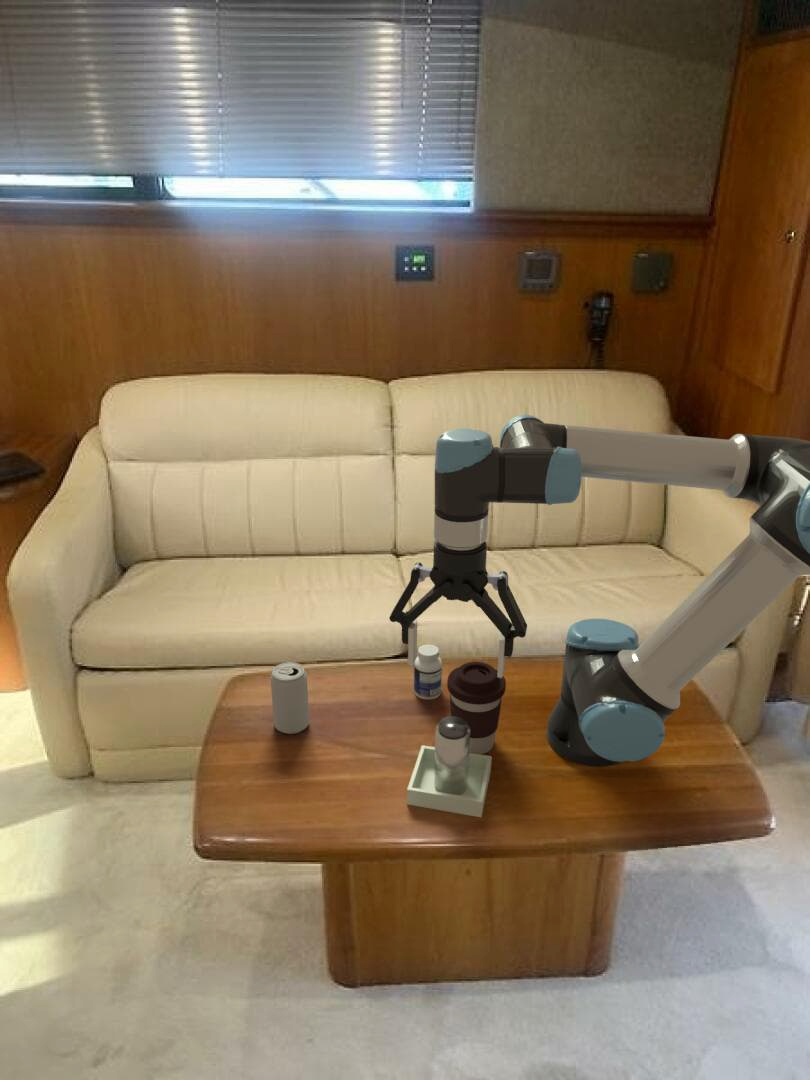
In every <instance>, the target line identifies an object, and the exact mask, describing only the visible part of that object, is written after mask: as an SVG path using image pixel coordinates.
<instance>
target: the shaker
mask: <svg viewBox="0 0 810 1080" xmlns="http://www.w3.org/2000/svg"><path fill="white" fill-rule="evenodd" d="M434 740H435V741H434V743H435V744H434V747H435V768H434V787H435V789H436V790H437V791H438V792H441V793H447V794H453V795H461V794H463V793H464V792H465V791H466V789H467V786H468V767H469V748H470V728H469V726H468V724H467V722H466V721H465V720H464V719H462V718H460V717H456V716H451V715H450V716H446V717H443V718H441V719H440V720H439V722H438V724H437V725H436V727H435V739H434Z"/></svg>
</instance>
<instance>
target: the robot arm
mask: <svg viewBox="0 0 810 1080" xmlns="http://www.w3.org/2000/svg"><path fill="white" fill-rule="evenodd" d="M499 437H500V441H499V447H498V446H494V445H493V440H492V436H491V435H490V434H489V433H487V432H486V431H484V430H478V429H471V428H456V429H451V430H447V431H445V432H443V433H442V434H440V436H439V437H438V438H437V440H436V444H435V445H436V447H435V459H434V460H435V461H434V510H433V512H434V513H433V537H434V541H433V559H432V561H433V563H432V564H433V565H432V567H426V566H424V565H423V564H422V563H421V562H419V561H418V562H416V563H415V564H414V565H413V568H411V572H410V578H409V579H410V580H409V582H408V584H407V585H406V587H405V589H404V591H403V592H402V594H401V596H400V597H399V599H398V601H397V602H396V603H395V606H394V607H393V609H392V611H391V613H390V615H389V621H390V622H392V623H398V624H399V625H401V642H402V644H405V645H408V647H407V652H408V653H407V658H408V659H407V660H408V661H407V664H408V666H410V667H414V662H415V660H416V658H417V657H418V620H417V619H418V618H419V617H420V616H421V615H422V614H423V613H424V612H426V610H428V609H429V608H430V607H431V606H433V604H434V603H436V602H437V601H439V600H440V598H441V597H443V598H445V599H446V601H455V600H456V601H460V602H462V603H464V602H465V603H469V601H472V603H474V604H475V606H476V607H478V608H479V609H481V611H482V612H483V613H484V614H485V616H487V618H488V619H489V620H490V621H491V623H492V624H493V625H494V627H495V628H496V629H497V630H498V631H499V632H500V636H499V641H498V643H499V644H498V655H497V656H498V659H497V661H498V662H497V671H498V673H497V677H499V678H502V677H503V676H504V673H505V672H504V671H505V666H506V665H505V662H506V657H508V658H511V657H512V656H513V652H514V643H515V642H514V641H515V638H525V637H526V634H527V629H528V624H527V622H526V620H525V617H524V616H523V614H522V611H521V609H520V607H519V605H518V603H517V601H516V598H515V596H514V594H513V592H512V590H511V588H510V586H509V575H508V572H507V571H505V570H501V571H500V572H499V573H497V574H493V573H492V574H490V573H488V570H487V552H488V551H487V550H488V549H487V548H488V544H487V543H488V542H487V539H488V534H489V532H488V529H489V510H490V509H489V506H490V503H495V504H496V503H497V504H498V503H499V504H500V503H501V504H503V503H505V504H534V505H535V504H538V505H539V504H541V505H545V504H546V505H549V506H550V505H551V506H552V505H557V504H571V503H574V502H575V501H576V500H577V499H578V497H579V494H580V490H581V486H582V478H588V479H589V478H591V479H598V480H599V479H600V480H609V481H610V480H613V481H623V482H633V483H643V484H653V485H664V486H675V487H686V488H696V489H706V490H718V491H722V493H723V494H724V495H725V496H726V497H728V498H732V499H741V500H746V501H750V502H751V503H754V504H758V505H759V507H758V508H757V509H756V511H755V512H753V514H751V516H750V517H749V533H748V535H746V537H745V538H744V539H743V540H742V541H741V542H740V543H739V544H738V545H737V546H736V547H735V548H734V549H733V550H732V551H731V552H730V553H729V554H728V555H727V556H726V557H725V559H723V560H722V562H720V563H719V565H718V566H717V567H715V569H714V570H712V572H711V573H710V574H709V575H708V576H707V577H705V579H704V580H703V581H702V582H701V583H700V584H699V585H698V586H697V587H696V588H695V589H694V590H693V591H692V592H691V593H690V594H689V595H688V596H687V597H686V598H685V599H684V600H683V601H682V602H681V603H680V604H679V605H678V607H676V608H675V609H674V611H672V613H671V614H669V616H668V617H666V618H665V620H663V621H662V622H661V623H660V624H659V625H658V627H657V628H656V629H654V631H653V632H652V633H650V635H649V636H648V637H647V638H645V640H644V641H643V642H642V643H641V644H639V636H638V633H637V632H636V630H635V629H634V628H632V627H631V626H629V625H627V624H626V623H622V622H620V621H615V620H612V619H608V618H607V619H606V618H587V619H582V620H579V621H576V622H574V623H572V624H571V625H570V627H569V628H568V630H567V635H566V638H565V641H564V643H565V650H564V658H563V668H562V678H561V685H560V686H561V688H560V689H561V690H560V696H559V698H558V700H557V702H556V704H555V706H554V708H553V710H552V711H551V713H550V715H549V717H548V720H547V724H546V738H547V742H548V743H549V745H550V747H551V748H552V749H553V750H554V751H555V753H557V754H558V755H559V756H561V757H563V758H564V759H566V760H568V761H570V762H573V763H574V764H578V765H581V766H582V765H583V766H588V767H595V768H596V767H597V768H603V767H610V766H615V765H618V764H620V763H623V762H629V763H631V762H637V761H641V760H643V759H646V758H648V757H650V756H652V755H653V754H654V753H656V752H657V751H658V750H659V749H660V748H661V746H662V744H663V743H664V740H665V732H666V726H665V724H664V722H665V721H666V720H667V719H668V718H669V717H670V716H671V715H672V714H673V713H674V712H675V711H676V710H677V709H678V708H679V707H680V706H681V693H680V692H681V691H682V689H683V688H685V687H686V686H687V685H688V684H689V683H690V682H691V681H692V680H693V679H694V678H695V677H696V676H697V675H698V674H699V673H700V672H701V671H702V670H703V669H705V667H707V665H708V664H710V663H711V662H712V661H713V659H714V658H716V657H717V656H718V655H719V654H721V652H722V651H723V650H724V649H725V648H726V647H727V646H728V645H729V644H730V643H732V642H733V640H735V639H736V638H737V637H738V635H739V634H741V633H742V632H743V631H744V630H745V629H746V628H747V627H748V626H749V625H750V624H751V623H752V622H753V621H754V620H755V619H757V618H758V616H759V615H760V614H761V613H762V612H764V611H765V610H766V609H767V608H768V607H769V606H770V605H771V604H772V603H773V602H774V601H775V600H776V599H777V598H778V597H779V596H780V595H781V594H782V593H784V592H785V591H786V589H787V588H789V587H790V586H791V585H792V584H793V582H795V581H796V580H797V579H798V578H799V577H800V576H805V575H807V576H808V575H810V440H805V439H800V438H793V437H784V436H782V437H781V436H773V435H771V436H770V435H758V434H757V435H755V434H746V433H736V434H733V435H732V436H731V438H729V439H724V438H722V439H721V438H714V437H713V438H711V437H704V436H703V437H701V436H700V437H699V436H691V435H690V436H689V435H678V434H667V433H654V432H647V431H645V432H644V431H631V430H623V429H622V430H620V429H612V428H611V429H609V428H599V427H598V428H597V427H588V426H577V425H565V424H558V423H547V422H546V423H545V422H544V421H543V420H541V419H540V418H539V417H536V416H533V415H532V414H531V415H530V414H521V415H520V414H519V415H517V416H514V417H513V418H511V419H509V420H508V421H507V422H506V423H505V425H504V426H503V428H502V431H501V433H500V436H499ZM426 578H430V581H431V582H432V583H433V584H434V585H433V587H432V588H431V589H430V590H429V591H427V592H426V594H424V596H422V597H421V598H420V599H419V600H418V601H417V602H416V603H415V604H414V605H413V606H412V607H411V608H409V610H406V611H404V609H405V607H406V606H407V604H408V603H409V601H410V599H411V597H412V596H413V594H414V593H415V591H416V589H417V587H418V586H419V583H423V582H425V580H426ZM488 584H490V585H492V586H491V587H492V589H494V590H495V591H497V592H498V593H497V594H498V597H499V599H500V601H501V603H502V605H503V607H504V609H505V612H506V614H507V615H508V617H509V618H508V617H507V616H506V614H505V613H504V612H503V611H502V609H500V608H499V606H498V605H497V604H496V602H495V601H494V600H493V599H492V597H491V596H490V595H489V592H488V590H487V589H486V588H485V587H487V585H488Z"/></svg>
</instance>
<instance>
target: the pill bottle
mask: <svg viewBox="0 0 810 1080" xmlns="http://www.w3.org/2000/svg"><path fill="white" fill-rule="evenodd" d="M413 667H414V668H413V693H414V694H415V696H417V697H418V698H419V699H422V700H434V699H437V698H439V696H440V695H441V693H442V688H443V684H442V683H443V681H442V679H443V660H442V659H441V657H440V650H439V647H438V646H436V645H435V644H434V645H433V644H423V645H421V646H419V647H418V648H417V657H416V660H415V662H414V665H413Z"/></svg>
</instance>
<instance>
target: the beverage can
mask: <svg viewBox="0 0 810 1080" xmlns="http://www.w3.org/2000/svg"><path fill="white" fill-rule="evenodd" d="M307 675H308V674H307V672H306V671H305V668H304V666H303V665H302V664H301V663H298V662H295V661H294V662H293V661H288V662H283V663H279V664H277V665H276V666H275V667H273V669H272V672H271V675H270V687H271V688H270V689H271V701H272V713H273V724H274V728H275V729H276V730H277V731H278V732H281V733H283V734H286V735H287V734H288V735H294V734H298V733H301V732H302V731H304V730H305V729H306V728H307V727H308V726H309V724H310V709H309V706H310V705H309V693H308V692H309V691H308V676H307Z"/></svg>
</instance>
